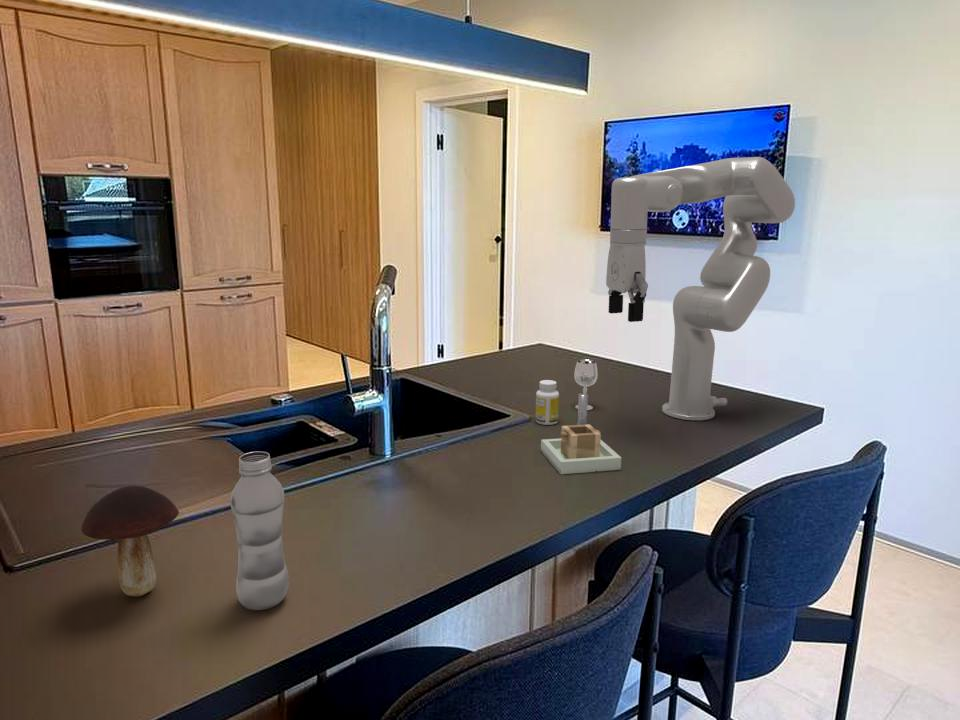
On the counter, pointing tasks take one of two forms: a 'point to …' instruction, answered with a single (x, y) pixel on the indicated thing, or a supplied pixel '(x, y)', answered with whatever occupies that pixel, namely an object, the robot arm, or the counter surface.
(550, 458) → the tray
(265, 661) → the counter surface
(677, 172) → the robot arm
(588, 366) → the wineglass
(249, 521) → the plastic bottle
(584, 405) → the post
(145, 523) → the decorative mushroom
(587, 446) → the ring
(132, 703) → the counter surface
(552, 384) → the supplement bottle
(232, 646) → the counter surface
